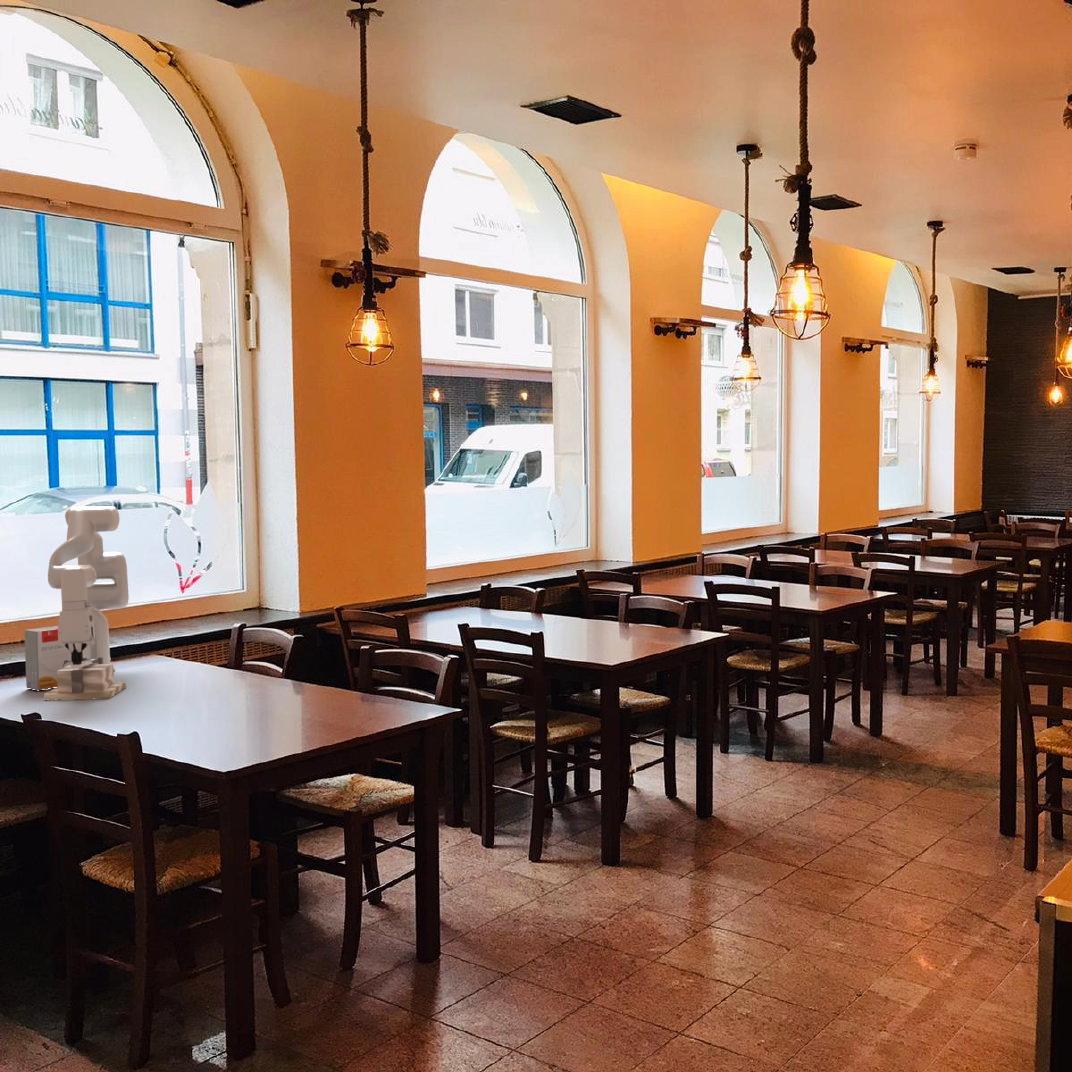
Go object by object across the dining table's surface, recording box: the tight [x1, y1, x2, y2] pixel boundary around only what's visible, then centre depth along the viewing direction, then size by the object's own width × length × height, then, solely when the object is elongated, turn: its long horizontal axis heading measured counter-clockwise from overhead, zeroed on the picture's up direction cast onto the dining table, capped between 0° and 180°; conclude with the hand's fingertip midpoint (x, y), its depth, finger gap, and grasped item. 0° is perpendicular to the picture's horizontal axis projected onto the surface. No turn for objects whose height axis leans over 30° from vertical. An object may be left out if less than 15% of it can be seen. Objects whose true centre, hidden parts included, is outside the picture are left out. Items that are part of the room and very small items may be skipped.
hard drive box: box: [23, 625, 78, 690], centre depth 376 cm, size 16×8×20 cm, turn 143°
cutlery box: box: [43, 657, 127, 701], centre depth 364 cm, size 17×20×10 cm
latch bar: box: [71, 659, 98, 667], centre depth 363 cm, size 16×3×1 cm, turn 2°
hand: (77, 664), depth 357 cm, fingers closed
